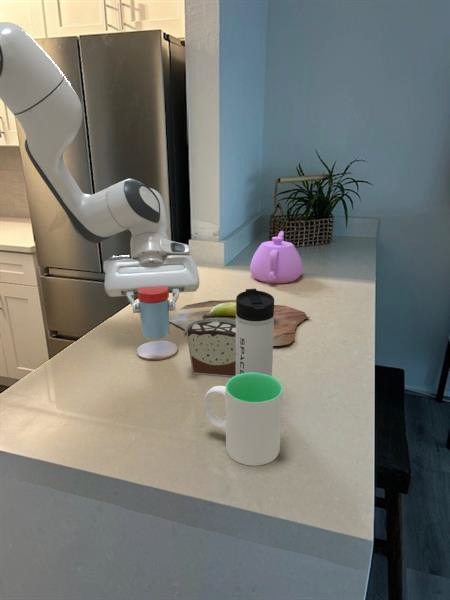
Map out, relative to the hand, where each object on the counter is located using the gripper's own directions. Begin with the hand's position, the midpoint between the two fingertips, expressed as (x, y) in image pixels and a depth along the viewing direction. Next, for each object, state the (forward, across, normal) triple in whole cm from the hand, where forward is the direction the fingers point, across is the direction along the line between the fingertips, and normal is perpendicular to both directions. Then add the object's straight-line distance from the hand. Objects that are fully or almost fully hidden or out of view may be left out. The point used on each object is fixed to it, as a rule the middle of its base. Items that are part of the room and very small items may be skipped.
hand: (154, 310), depth 91 cm
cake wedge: (+14, +12, 0) cm, 18 cm away
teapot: (-29, +42, +43) cm, 67 cm away
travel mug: (+23, +16, -9) cm, 29 cm away
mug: (+30, +12, -16) cm, 36 cm away
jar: (+3, 0, +4) cm, 5 cm away
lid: (-3, 0, -2) cm, 4 cm away
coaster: (+6, 0, +7) cm, 10 cm away
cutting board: (-3, +21, +17) cm, 27 cm away
